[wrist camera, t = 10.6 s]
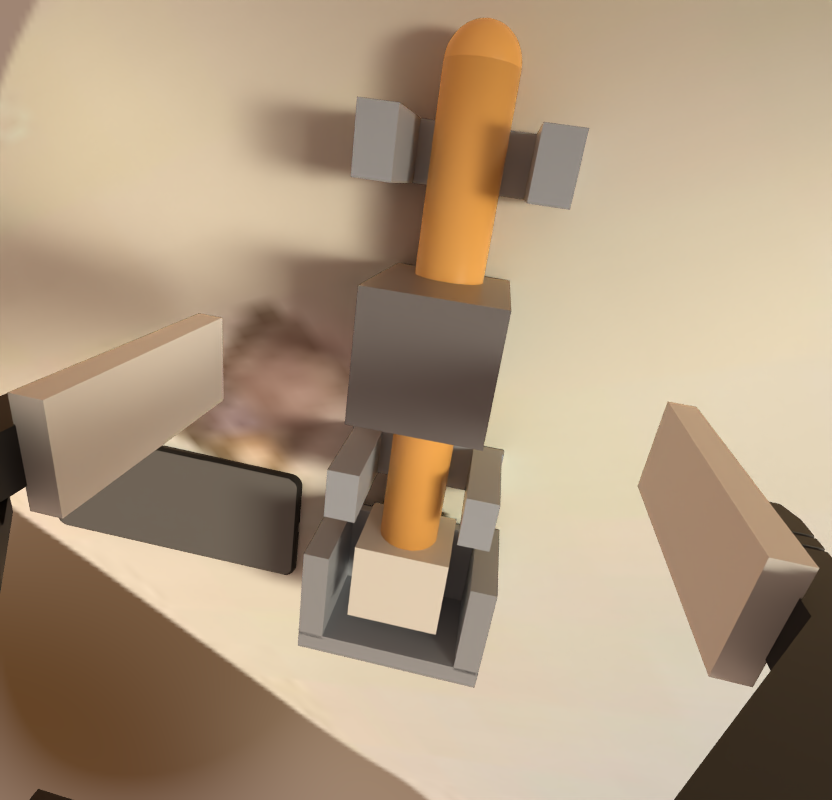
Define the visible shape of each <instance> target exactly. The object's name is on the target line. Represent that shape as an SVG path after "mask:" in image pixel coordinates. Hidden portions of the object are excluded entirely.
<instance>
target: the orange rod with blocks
mask: <svg viewBox="0 0 832 800" xmlns="http://www.w3.org/2000/svg"><path fill="white" fill-rule="evenodd" d="M521 70H522V53H521V49H520V45H519V42H518V40H517V38H516V36H515V34H514V33H513V32H512V31H511V29H510V28H509V27H508V26H506V25H505V24H504V23H502V22H501V21H498V20H495V19H492V18H478V19H475V20H472V21H469V22H467V23H466V24H465V25H463V26H462V27H460V28H459V29H458V31H457V32H456V33H455V34H454V35H453V37H452V38H451V40H450V41H449V43H448V46H447V48H446V51H445V55H444V60H443V67H442V74H441V81H440V89H439V96H438V104H437V111H436V119H435V126H434V134H433V141H432V149H431V156H430V164H429V171H428V179H427V186H426V194H425V201H424V209H423V216H422V224H421V231H420V239H419V246H418V253H417V261H416V266H415V265H409V264H403V263H397V264H395V265H393V266H392V267H390V268H388V269H386V270H384V271H383V272H381V273H379V274H377V275H375V276H374V277H372V278H370V279H368V280H367V281H365V282H363V283H361V284H359V285H358V292H357V302H356V313H355V323H354V334H353V344H352V354H351V365H350V375H349V386H348V396H347V406H346V417H345V424H346V425H351V426H356V427H361V428H367V429H372V430H377V431H382V432H387V433H392V434H393V440H392V448H391V455H390V463H389V470H388V478H387V485H386V493H385V500H384V504H380V503H376V502H375V503H374V505H373V508H372V510H371V512H370V514H369V517H368V519H367V521H366V524H365V526H364V528H363V530H362V533H361V535H360V537H359V540H358V542H357V544H356V546H355V552H354V561H353V570H352V579H351V587H350V596H349V605H348V614H347V615H352V616H356V617H361V618H365V619H369V620H374V621H378V622H382V623H387V624H391V625H395V626H400V627H404V628H409V629H413V630H417V631H422V632H426V633H430V634H435V635H436V631H437V625H438V620H439V615H440V610H441V605H442V600H443V595H444V590H445V585H446V579H447V574H448V569H449V563H450V557H451V550H452V544H453V537H454V531H455V525H456V519H453V518H448V517H443V516H441V512H442V507H443V501H444V496H445V490H446V485H447V479H448V474H449V468H450V462H451V457H452V451H453V446H460V447H465V448H470V449H475V450H480V451H483V447H484V442H485V437H486V432H487V427H488V422H489V417H490V412H491V407H492V402H493V398H494V393H495V388H496V383H497V378H498V373H499V368H500V363H501V358H502V353H503V349H504V344H505V339H506V334H507V329H508V324H509V319H510V314H511V297H510V281H508V280H502V279H496V278H490V277H484V275H485V269H486V264H487V258H488V253H489V247H490V242H491V236H492V230H493V225H494V219H495V214H496V208H497V203H498V197H499V192H500V186H501V181H502V175H503V170H504V164H505V159H506V153H507V148H508V142H509V137H510V131H511V126H512V120H513V114H514V109H515V103H516V98H517V92H518V87H519V81H520V76H521Z"/></svg>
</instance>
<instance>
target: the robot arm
mask: <svg viewBox="0 0 832 800" xmlns="http://www.w3.org/2000/svg"><path fill="white" fill-rule="evenodd" d="M222 401H223V337H222V318H221V317H216V316H211V315H205V314H200V313H198V314H196V315H193V316H191V317H189V318H186V319H184V320H181V321H179V322H176V323H174V324H172V325H169V326H167V327H164V328H162V329H160V330H157V331H155V332H152V333H150V334H148V335H145V336H143V337H140V338H138V339H135V340H133V341H131V342H128V343H126V344H123V345H121V346H119V347H116V348H114V349H111V350H109V351H106V352H104V353H102V354H99V355H97V356H94V357H92V358H90V359H87V360H85V361H82V362H80V363H77V364H75V365H73V366H70V367H68V368H65V369H63V370H61V371H58V372H56V373H53V374H51V375H49V376H46V377H44V378H41V379H39V380H36V381H34V382H32V383H29V384H27V385H24V386H22V387H20V388H17V389H15V390H12V391H10V392H7V394H4V395H2V396H0V590H1V584H2V577H3V572H4V565H5V559H6V553H7V546H8V540H9V533H10V527H11V521H12V513H13V510H12V505H11V500H10V496H12V495H13V494H15V493H16V492H18V491H20V490H21V489H23V488H24V487H26V491H27V496H28V502H29V507H30V511H33V512H37V513H41V514H45V515H49V516H54V517H58V518H62V519H63V518H64V517H66V516H67V515H68V514H70V513H71V512H72V511H74V510H75V509H76V508H78V507H79V506H81V505H82V504H83V503H85V502H86V501H87V500H89V499H90V498H91V497H93V496H94V495H95V494H97V493H98V492H100V491H101V490H102V489H104V488H105V487H106V486H108V485H109V484H110V483H112V482H113V481H114V480H116V479H117V478H119V477H120V476H121V475H123V474H124V473H125V472H127V471H128V470H129V469H131V468H132V467H133V466H135V465H136V464H137V463H139V462H140V461H142V460H143V459H144V458H146V457H147V456H148V455H150V454H151V453H152V452H154V451H155V450H156V449H158V448H159V447H161V446H162V445H163V444H165V443H166V442H167V441H169V440H170V439H171V438H173V437H174V436H175V435H177V434H178V433H179V432H181V431H182V430H184V429H185V428H186V427H188V426H189V425H190V424H192V423H193V422H194V421H196V420H197V419H198V418H200V417H201V416H203V415H204V414H205V413H207V412H208V411H209V410H211V409H212V408H213V407H215V406H216V405H217V404H219V403H220V402H222ZM638 488H639V491H640V493H641V496H642V499H643V501H644V504H645V507H646V510H647V512H648V515H649V518H650V520H651V523H652V526H653V528H654V531H655V534H656V536H657V539H658V542H659V544H660V547H661V550H662V552H663V555H664V558H665V560H666V563H667V566H668V568H669V571H670V574H671V577H672V579H673V582H674V585H675V587H676V590H677V593H678V595H679V598H680V601H681V603H682V606H683V609H684V611H685V614H686V617H687V619H688V622H689V625H690V627H691V630H692V633H693V636H694V638H695V641H696V644H697V646H698V649H699V652H700V654H701V657H702V660H703V662H704V665H705V668H706V670H707V673H708V676H709V677H713V678H717V679H721V680H725V681H729V682H734V683H738V684H742V685H746V686H750V687H753V686H754V684H755V682H756V681H757V679H758V677H759V675H760V673H761V672H762V670H763V668H764V666H765V664H766V663H767V664H768V666H769V668H770V670H771V671H770V672H769V674H768V675H767V676H766V678H765V679H764V680H763V682H762V683H761V684H760V686H759V687H758V688H757V690H756V691H755V692H754V694H753V695H752V696H751V698H750V699H749V700H748V702H747V703H746V704H745V706H744V707H743V708H742V710H741V711H740V712H739V714H738V715H737V716H736V718H735V719H734V720H733V722H732V723H731V724H730V726H729V727H728V728H727V730H726V731H725V732H724V734H723V735H722V736H721V738H720V739H719V740H718V742H717V743H716V744H715V746H714V747H713V748H712V750H711V751H710V752H709V754H708V755H707V756H706V758H705V759H704V760H703V762H702V763H701V764H700V766H699V767H698V768H697V770H696V771H695V772H694V774H693V775H692V776H691V778H690V779H689V780H688V782H687V783H686V784H685V786H684V787H683V788H682V790H681V791H680V792H679V794H678V795H677V796H676V798H675V799H674V800H832V557H831V556H830V555H829V553H828V552H824V550H825V549H824V547H823V546H822V545H821V544H820V542H819V541H818V540H817V539H815V538H814V535H813V534H812V533H811V531H810V530H809V529H808V528H807V527H806V525H805V524H804V523H803V522H802V520H801V519H799V518H798V517H797V516H795V515H794V514H793V513H791V512H790V511H789V510H787V509H786V508H784V507H783V506H782V505H780V504H777V503H772V502H769V501H768V500H767V499H766V497H765V496H764V495H763V494H762V492H761V491H760V490H759V488H758V487H757V486H756V484H755V483H754V482H753V480H752V479H751V478H750V476H749V475H748V474H747V473H746V471H745V470H744V469H743V467H742V466H741V465H740V463H739V462H738V461H737V459H736V458H735V457H734V455H733V454H732V453H731V451H730V450H729V449H728V448H727V446H726V445H725V444H724V442H723V441H722V440H721V438H720V437H719V436H718V434H717V433H716V432H715V430H714V429H713V428H712V427H711V425H710V424H709V423H708V421H707V420H706V419H705V417H704V416H703V415H702V413H701V412H700V411H699V409H698V408H697V407H694V406H689V405H684V404H678V403H673V402H667V405H666V408H665V411H664V414H663V416H662V419H661V422H660V425H659V428H658V430H657V433H656V436H655V439H654V442H653V444H652V447H651V450H650V453H649V456H648V458H647V461H646V464H645V467H644V470H643V473H642V475H641V478H640V481H639V484H638ZM30 800H72V799H69V798H66V797H62V796H59V795H56V794H53V793H50V792H46V791H43V790H40V789H38V790H37V791H36V792H35V793H34V795H33V796H32V797H31V799H30Z"/></svg>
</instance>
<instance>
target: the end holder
mask: <svg viewBox="0 0 832 800" xmlns="http://www.w3.org/2000/svg"><path fill="white" fill-rule="evenodd" d="M372 508H373V507H372V506H367V505H362V507H361V509H360V512H359V514H358V516H357V518H356V520H355V522H354V523H352V522H348V521H343V520H338V519H334V518H329V517H324V518H323V520H322V522H321V524H320V526H319V527H318V529H317V531H316V533H315V535H314V536H313V538H312V540H311V542H310V544H309V545H308V547H307V549H306V551H305V553H304V559H303V574H302V590H301V606H300V621H299V637H298V646H302V647H306V648H311V649H315V650H319V651H323V652H327V653H332V654H336V655H340V656H344V657H348V658H352V659H357V660H361V661H365V662H369V663H373V664H377V665H382V666H386V667H390V668H394V669H398V670H402V671H407V672H411V673H415V674H419V675H423V676H427V677H432V678H436V679H440V680H444V681H448V682H452V683H457V684H461V685H465V686H469V687H473V688H474V687H475V683H476V680H477V676H478V672H479V668H480V664H481V660H482V656H483V652H484V648H485V644H486V640H487V636H488V632H489V628H490V624H491V620H492V616H493V612H494V609H495V605H496V601H497V595H498V560H499V530H497V529H495V530H494V534H493V538H492V543H491V547H490V551H489V552H488V551H483V550H478V549H474V548H469V547H464V546H460V545H457V543H458V536H459V529H460V525H458V524H456V525H455V531H454V537H453V544H452V550H451V557H450V563H449V569H448V574H447V579H446V585H445V590H444V595H443V600H442V605H441V610H440V615H439V620H438V625H437V631H436V635H435V634H430V633H426V632H422V631H417V630H413V629H409V628H404V627H400V626H395V625H391V624H387V623H382V622H378V621H374V620H369V619H365V618H361V617H356V616H352V615H347V614H348V605H349V596H350V587H351V579H352V570H353V561H354V552H355V546H356V544H357V542H358V540H359V537H360V535H361V533H362V530H363V528H364V526H365V524H366V521H367V519H368V517H369V514H370V512H371V510H372Z"/></svg>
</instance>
